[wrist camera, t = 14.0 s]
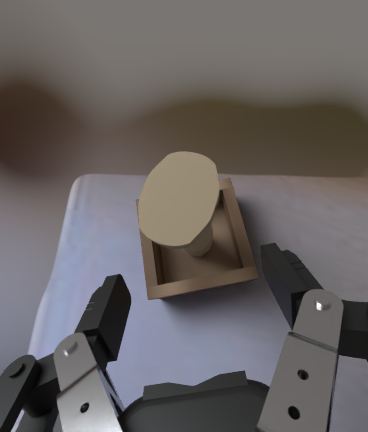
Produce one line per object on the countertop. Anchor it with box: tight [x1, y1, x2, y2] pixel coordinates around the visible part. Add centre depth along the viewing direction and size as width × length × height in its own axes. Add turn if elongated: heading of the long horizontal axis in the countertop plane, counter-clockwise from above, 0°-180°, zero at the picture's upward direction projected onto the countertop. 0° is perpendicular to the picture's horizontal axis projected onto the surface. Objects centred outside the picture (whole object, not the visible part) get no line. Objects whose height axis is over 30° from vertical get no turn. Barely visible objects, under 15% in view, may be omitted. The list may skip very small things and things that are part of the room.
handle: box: [138, 152, 220, 257], centre depth 21 cm, size 5×6×15 cm
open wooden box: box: [136, 178, 259, 300], centre depth 27 cm, size 11×11×5 cm
